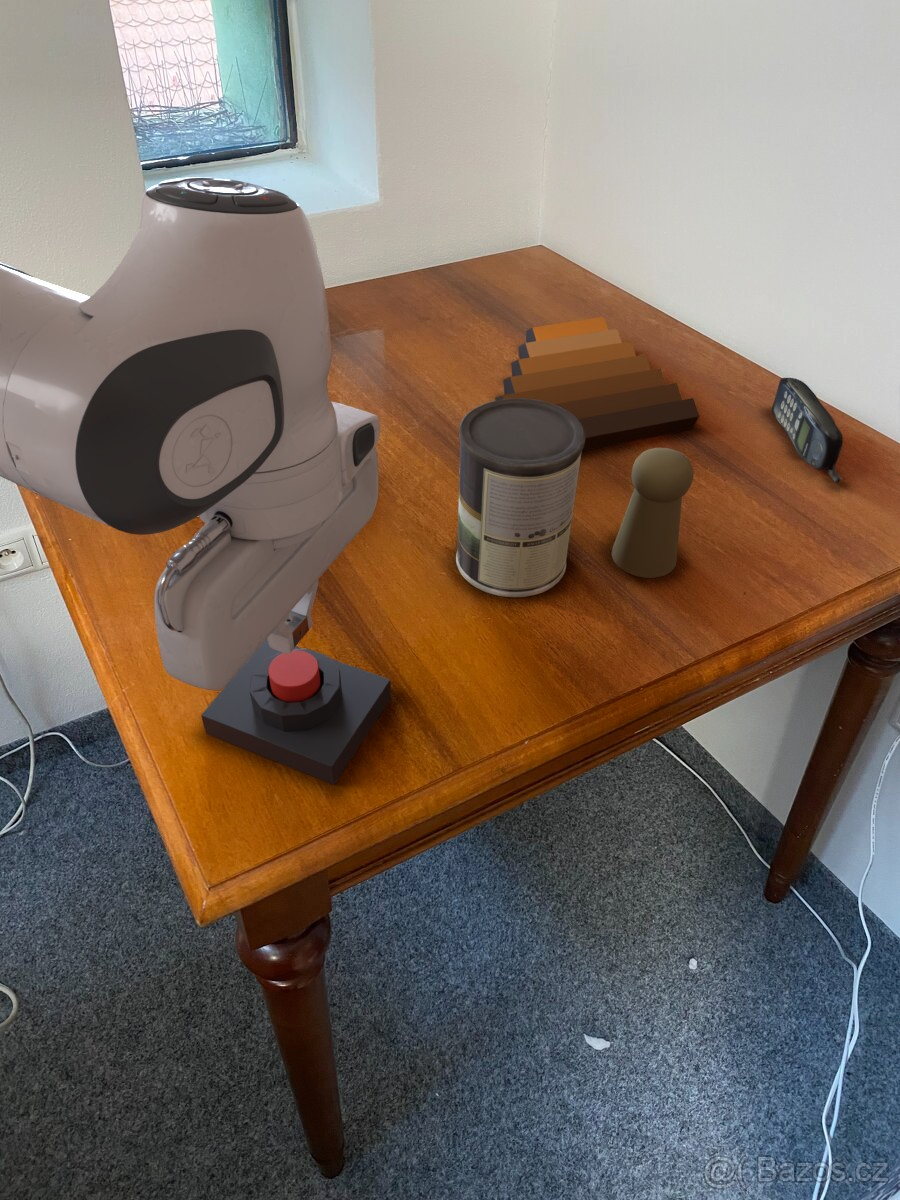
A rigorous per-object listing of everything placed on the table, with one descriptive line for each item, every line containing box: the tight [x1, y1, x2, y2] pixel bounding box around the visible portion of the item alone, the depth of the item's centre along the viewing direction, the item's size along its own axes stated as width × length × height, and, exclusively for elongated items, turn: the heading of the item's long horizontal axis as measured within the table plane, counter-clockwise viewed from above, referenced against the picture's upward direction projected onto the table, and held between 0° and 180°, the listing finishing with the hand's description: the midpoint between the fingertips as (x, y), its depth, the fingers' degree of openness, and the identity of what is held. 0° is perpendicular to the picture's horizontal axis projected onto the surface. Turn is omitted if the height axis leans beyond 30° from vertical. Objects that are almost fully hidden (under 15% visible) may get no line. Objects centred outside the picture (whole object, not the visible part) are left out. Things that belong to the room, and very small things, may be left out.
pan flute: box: [494, 316, 700, 452], centre depth 102 cm, size 25×3×25 cm
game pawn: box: [610, 447, 694, 579], centre depth 78 cm, size 6×6×11 cm
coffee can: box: [455, 398, 585, 598], centre depth 76 cm, size 10×10×14 cm
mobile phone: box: [771, 377, 844, 484], centre depth 95 cm, size 5×3×15 cm
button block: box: [200, 639, 392, 786], centre depth 66 cm, size 11×9×4 cm
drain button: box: [268, 651, 320, 702], centre depth 64 cm, size 4×4×2 cm
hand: (291, 638), depth 61 cm, fingers closed
